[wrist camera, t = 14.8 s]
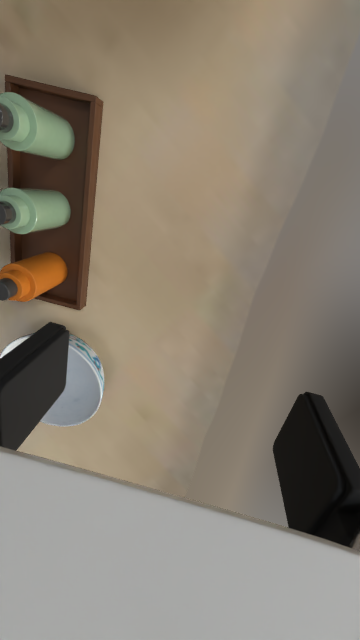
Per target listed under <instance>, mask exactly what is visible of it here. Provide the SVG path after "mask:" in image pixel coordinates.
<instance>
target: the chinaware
mask: <svg viewBox="0 0 360 640" xmlns="http://www.w3.org/2000/svg"><path fill="white" fill-rule="evenodd" d="M33 334H34V333H33ZM33 334H29V335H26V336H23V337H21V338H18V339H16V340H14V341H13V342H11V343H10V344H8V345H7V346H6V347H5V348H4V350H3V351H2V353H1V355H0V358H2V357H3V356H4V355H6V354H7V353H8V352H10V351H11V350H13V349H14V348H15V347H17V346H18V345H19V344H21V343H22V342H23V341H25V340H26V339H27V338H29V337H30V336H31V335H33ZM103 391H104V372H103V368H102V365H101V362H100V360H99V358H98V356H97V355H96V353H95V352H94V350H93V349H92V348H91V347H90V346H89V345H88V344H87V343H85V342H84V341H83V340H81V339H79V338H78V337H76V336H73V335H71V334H69V348H68V362H67V376H66V386H65V389H64V391H63V393H62V394H61V395H60V397H59V398H58V399H57V400H56V402H55V403H54V404H53V405H52V407H51V408H50V409H49V410H48V412H47V413H46V414H45V415H44V416H43V418H42V419H41V420H40V422H43V423H46V424H49V425H54V426H74V425H78V424H81V423H83V422H85V421H87V420H88V419H90V418H91V417H92V416H93V415H94V414H95V413H96V411H97V410H98V408H99V406H100V403H101V400H102V396H103Z"/></svg>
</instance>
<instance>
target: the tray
mask: <svg viewBox="0 0 360 640" xmlns="http://www.w3.org/2000/svg"><path fill="white" fill-rule="evenodd" d="M5 81H6V82H5V92H13V93H16V94H18V95H21V96H22V97H24V98H26V99H28V100H30V101H32V102H34V103H36V104H38V105H40V106H42V107H44V108H46V109H48V110H50V111H52V112H54V113H56V114H58V115H60V116H62V117H63V118H65V119H66V120H67V121H68V123H69V124H70V126H71V127H72V130H73V132H74V137H75V144H74V149H73V151H72V153H71V154H70V155H69V156H68V157H67V158H65V159H63V160H55V159H51V158H46V157H42V156H38V155H33V154H29V153H24V152H20V151H16V150H12V149H10V148H8V147H7V155H8V185H9V188H32V189H53V190H56V191H59V192H60V193H62V194H63V195H64V196H65V197H66V199H67V200H68V202H69V205H70V209H71V216H70V219H69V221H68V222H67V224H66V225H64V226H62V227H59V228H54V229H48V230H43V231H38V232H33V233H27V234H16V233H14V232H12V231H10V245H11V263H14V262H17V261H20V260H23V259H27V258H30V257H33V256H36V255H39V254H42V253H46V252H51V253H55V254H57V255H58V256H60V257H61V258H62V259H63V260H64V262H65V264H66V266H67V271H68V273H67V277H66V279H65V281H64V282H62V283H61V284H59V285H57V286H55V287H53V288H51V289H49V290H48V291H46V292H44V293H42V294H40V295H38V296H37V297H35V299H39V300H42V301H46V302H50V303H54V304H58V305H62V306H65V307H69V308H73V309H77V310H81V309H82V308H83V307H84V306H86V297H87V286H88V274H89V262H90V250H91V239H92V227H93V215H94V204H95V192H96V180H97V169H98V157H99V145H100V134H101V122H102V110H103V101H102V100H100V99H99V98H98V97H97V96H94V95H90V94H85V93H81V92H77V91H73V90H69V89H64V88H60V87H56V86H52V85H48V84H43V83H39V82H35V81H31V80H26V79H22V78H18V77H14V76H10V75H5Z"/></svg>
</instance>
